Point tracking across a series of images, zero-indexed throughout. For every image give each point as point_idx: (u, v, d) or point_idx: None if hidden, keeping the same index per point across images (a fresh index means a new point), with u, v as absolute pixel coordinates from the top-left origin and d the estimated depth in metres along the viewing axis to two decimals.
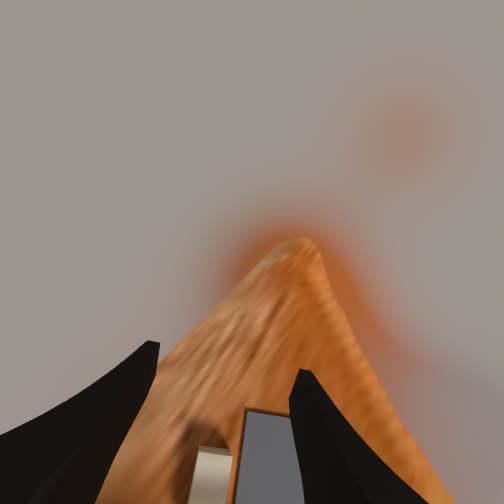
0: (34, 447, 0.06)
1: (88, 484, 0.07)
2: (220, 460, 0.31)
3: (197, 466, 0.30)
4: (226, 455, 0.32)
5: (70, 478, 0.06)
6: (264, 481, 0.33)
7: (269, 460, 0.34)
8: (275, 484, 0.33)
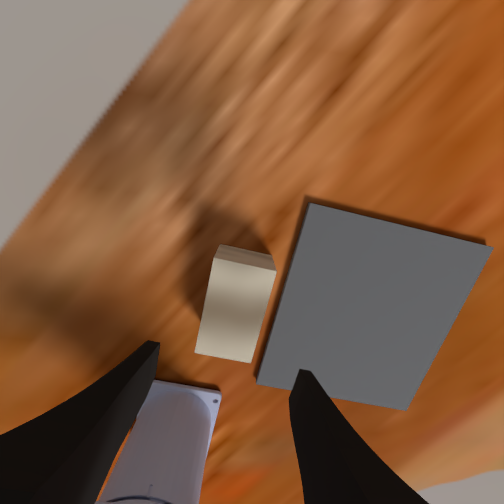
0: (34, 447, 0.06)
1: (88, 484, 0.07)
2: (254, 274, 0.17)
3: (212, 277, 0.17)
4: (265, 267, 0.17)
5: (70, 478, 0.06)
6: (324, 299, 0.21)
7: (337, 277, 0.20)
8: (341, 304, 0.21)
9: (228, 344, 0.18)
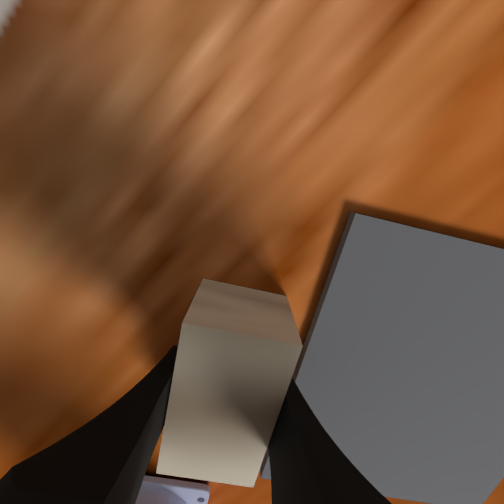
0: (89, 455, 0.06)
1: (132, 490, 0.07)
2: (261, 351, 0.09)
3: (182, 356, 0.09)
4: (281, 337, 0.09)
5: (123, 485, 0.06)
6: (369, 364, 0.13)
7: (392, 331, 0.13)
8: (395, 371, 0.13)
9: (213, 461, 0.11)
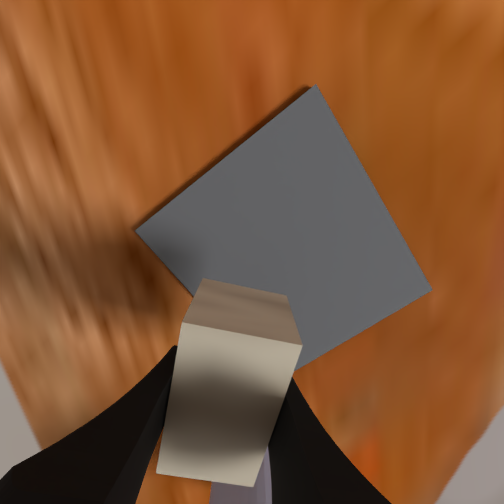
0: (89, 455, 0.06)
1: (132, 490, 0.07)
2: (261, 351, 0.09)
3: (182, 356, 0.09)
4: (280, 337, 0.09)
5: (123, 485, 0.06)
6: (236, 280, 0.19)
7: (223, 254, 0.18)
8: (253, 270, 0.19)
9: (213, 460, 0.11)
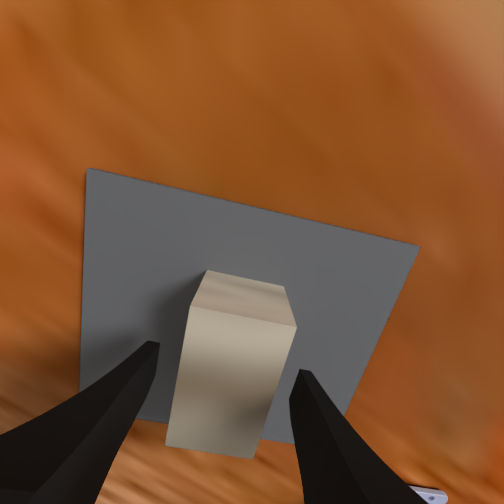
0: (33, 447, 0.06)
1: (88, 484, 0.07)
2: (260, 332, 0.10)
3: (189, 336, 0.10)
4: (277, 320, 0.10)
5: (70, 478, 0.06)
6: None
7: (165, 375, 0.16)
8: None
9: (217, 434, 0.12)
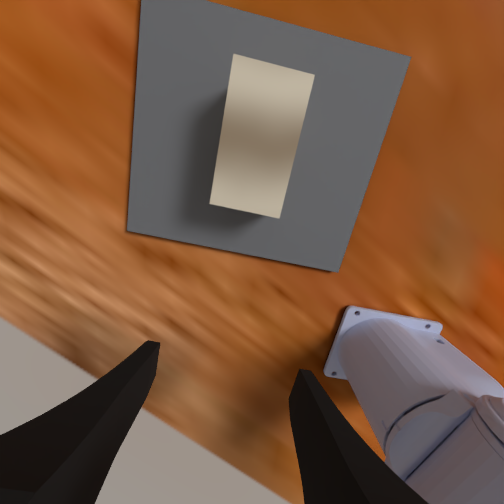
0: (34, 447, 0.06)
1: (88, 484, 0.07)
2: (286, 80, 0.13)
3: (232, 85, 0.13)
4: None
5: (70, 478, 0.06)
6: None
7: (201, 193, 0.19)
8: None
9: (251, 190, 0.15)
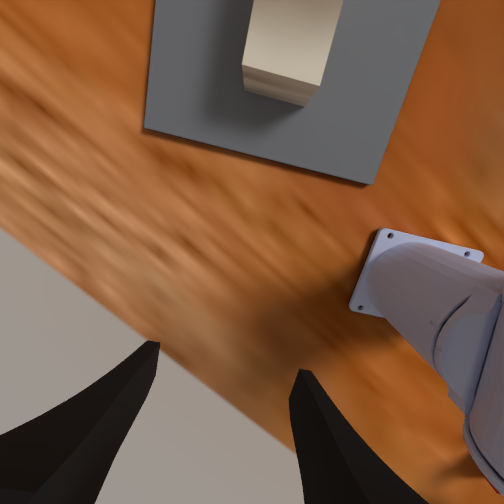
0: (34, 447, 0.06)
1: (88, 484, 0.07)
2: None
3: None
4: None
5: (70, 478, 0.06)
6: (257, 99, 0.17)
7: (226, 83, 0.17)
8: None
9: (290, 47, 0.13)
